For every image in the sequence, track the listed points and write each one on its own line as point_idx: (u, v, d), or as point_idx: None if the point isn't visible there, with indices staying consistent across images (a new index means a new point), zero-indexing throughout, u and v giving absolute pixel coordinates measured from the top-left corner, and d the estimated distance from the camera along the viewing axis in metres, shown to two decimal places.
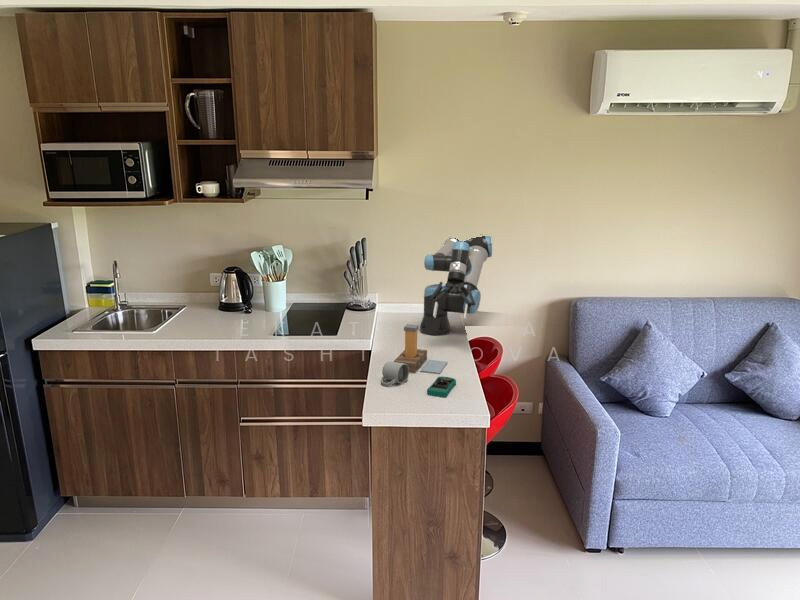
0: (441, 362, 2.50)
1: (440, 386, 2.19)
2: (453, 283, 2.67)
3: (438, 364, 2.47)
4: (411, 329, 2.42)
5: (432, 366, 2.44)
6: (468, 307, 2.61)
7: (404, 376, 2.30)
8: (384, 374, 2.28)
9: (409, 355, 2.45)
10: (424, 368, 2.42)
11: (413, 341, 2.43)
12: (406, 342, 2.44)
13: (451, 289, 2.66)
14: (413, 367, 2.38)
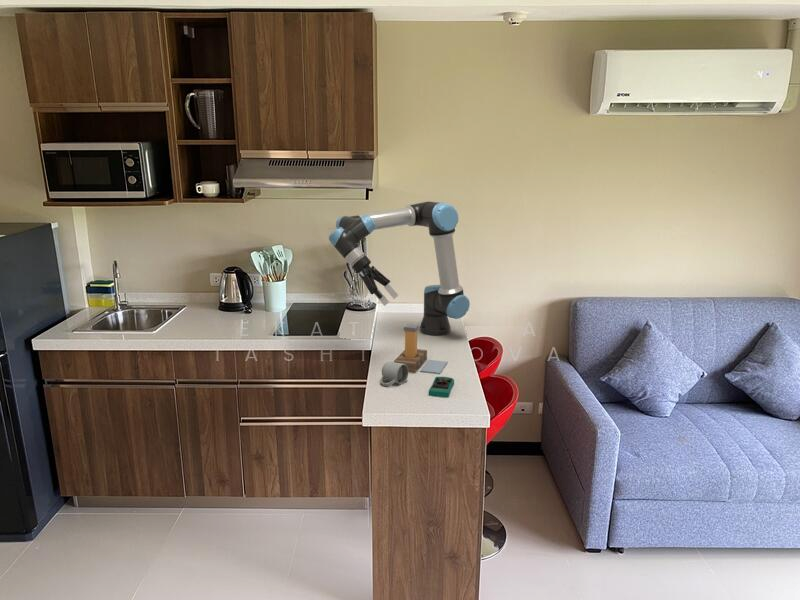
0: (441, 362, 2.50)
1: (441, 386, 2.19)
2: None
3: (438, 364, 2.47)
4: (411, 329, 2.42)
5: (432, 366, 2.44)
6: None
7: (403, 376, 2.30)
8: (383, 374, 2.28)
9: (409, 355, 2.45)
10: (424, 368, 2.42)
11: (413, 341, 2.43)
12: (406, 342, 2.44)
13: None
14: (413, 367, 2.38)
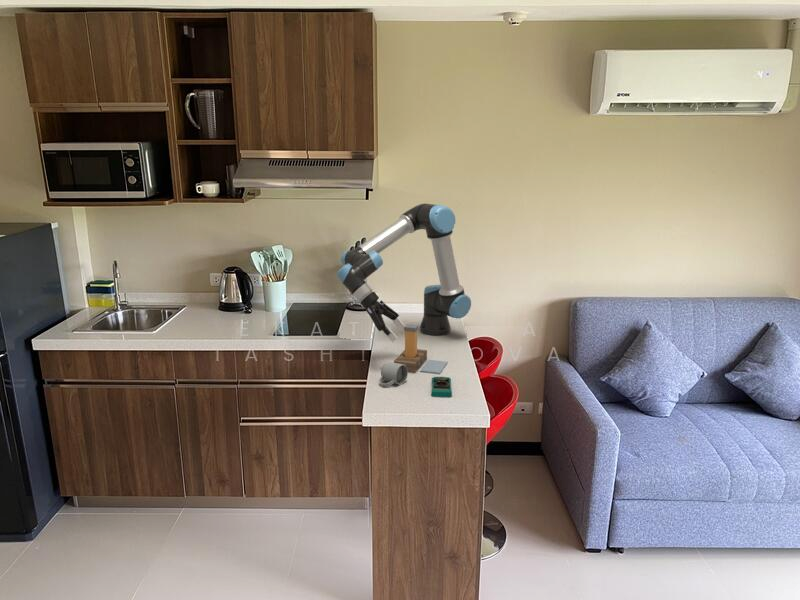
0: (441, 362, 2.50)
1: (442, 386, 2.19)
2: None
3: (438, 364, 2.47)
4: (411, 329, 2.42)
5: (432, 366, 2.44)
6: None
7: (402, 377, 2.29)
8: (382, 375, 2.27)
9: (409, 355, 2.45)
10: (424, 368, 2.42)
11: (413, 341, 2.43)
12: (406, 342, 2.44)
13: None
14: (413, 367, 2.38)
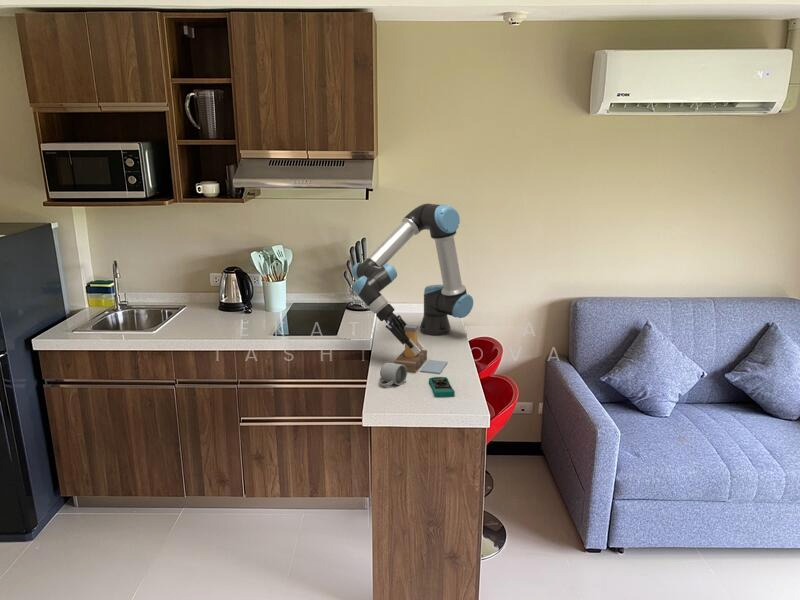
0: (441, 362, 2.50)
1: (443, 386, 2.19)
2: None
3: (438, 364, 2.47)
4: (411, 329, 2.42)
5: (432, 366, 2.44)
6: None
7: (401, 377, 2.29)
8: (382, 375, 2.27)
9: (409, 355, 2.45)
10: (424, 368, 2.42)
11: (413, 341, 2.43)
12: None
13: None
14: (413, 367, 2.38)
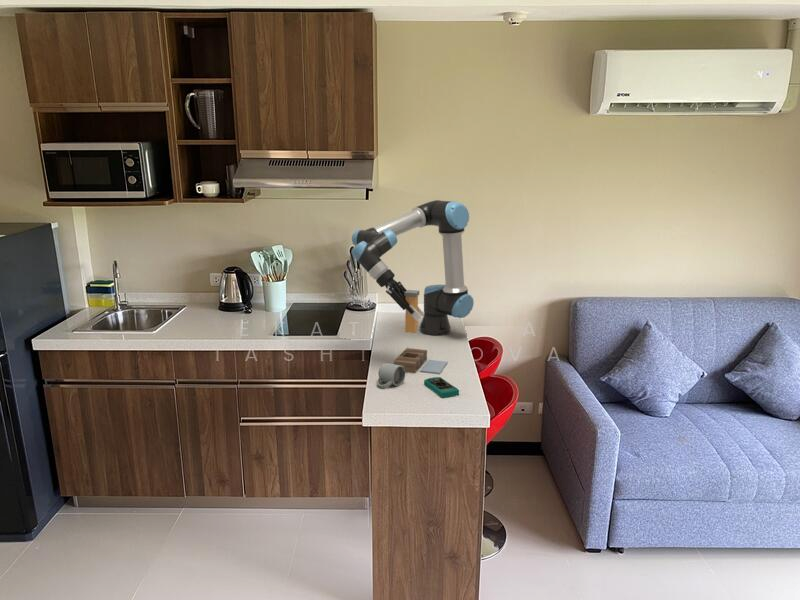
0: (441, 362, 2.50)
1: (445, 386, 2.19)
2: None
3: (438, 364, 2.47)
4: (412, 294, 2.39)
5: (432, 366, 2.44)
6: None
7: (400, 378, 2.28)
8: (380, 376, 2.26)
9: (410, 321, 2.42)
10: (424, 368, 2.42)
11: (414, 307, 2.40)
12: None
13: None
14: (413, 367, 2.38)
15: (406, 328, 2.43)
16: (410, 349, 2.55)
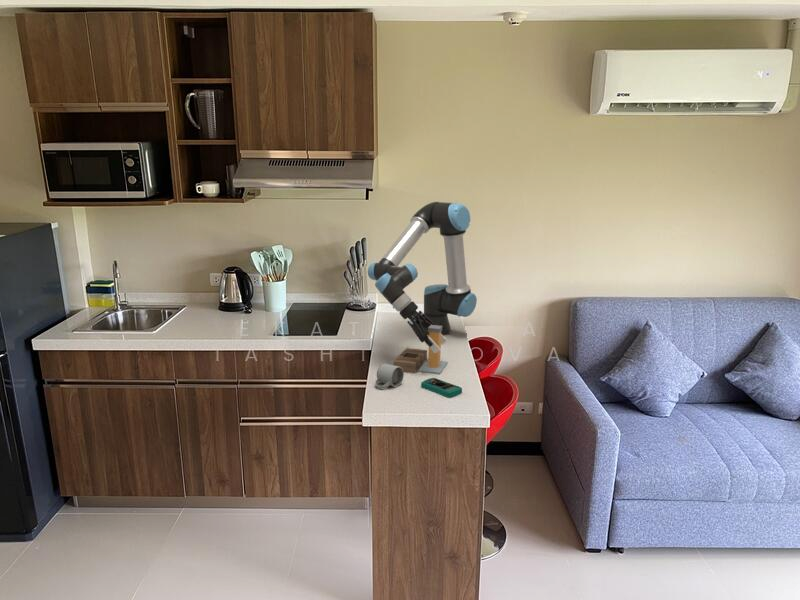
0: (441, 362, 2.50)
1: (447, 386, 2.19)
2: None
3: None
4: (435, 330, 2.39)
5: None
6: None
7: (398, 379, 2.27)
8: (378, 377, 2.25)
9: (433, 356, 2.42)
10: (424, 368, 2.42)
11: (437, 342, 2.40)
12: None
13: None
14: (413, 367, 2.38)
15: (429, 363, 2.43)
16: (410, 349, 2.55)
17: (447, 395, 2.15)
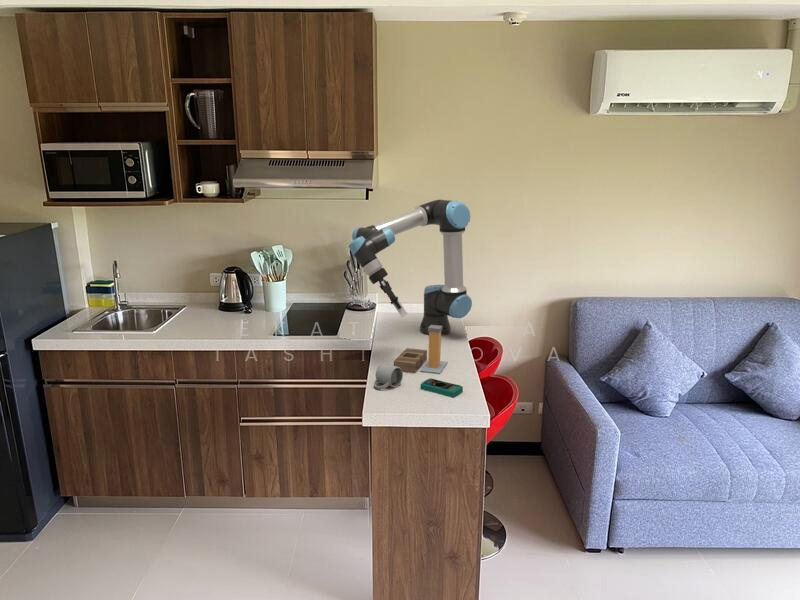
0: (441, 362, 2.50)
1: (447, 386, 2.20)
2: None
3: None
4: (435, 330, 2.39)
5: None
6: (395, 305, 2.40)
7: (397, 380, 2.27)
8: (377, 377, 2.24)
9: (433, 356, 2.42)
10: (424, 368, 2.42)
11: (437, 342, 2.40)
12: (429, 343, 2.41)
13: None
14: (413, 367, 2.38)
15: (429, 363, 2.43)
16: (410, 349, 2.55)
17: (451, 395, 2.15)
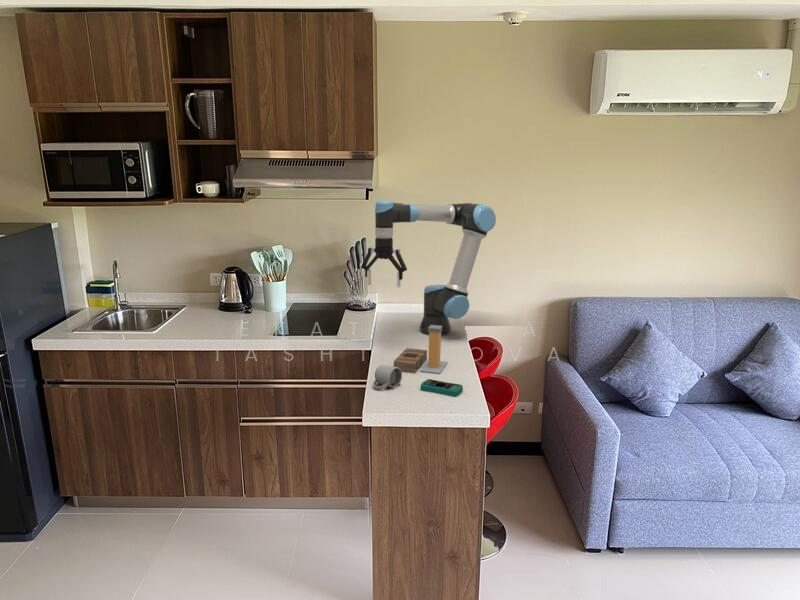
0: (441, 362, 2.50)
1: (448, 385, 2.20)
2: (381, 249, 2.57)
3: None
4: (435, 330, 2.39)
5: None
6: (400, 275, 2.57)
7: (396, 380, 2.26)
8: (376, 378, 2.24)
9: (433, 356, 2.42)
10: (424, 368, 2.42)
11: (437, 342, 2.40)
12: (429, 343, 2.41)
13: (380, 256, 2.57)
14: (413, 367, 2.38)
15: (429, 363, 2.43)
16: (410, 349, 2.55)
17: (454, 394, 2.15)
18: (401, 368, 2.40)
